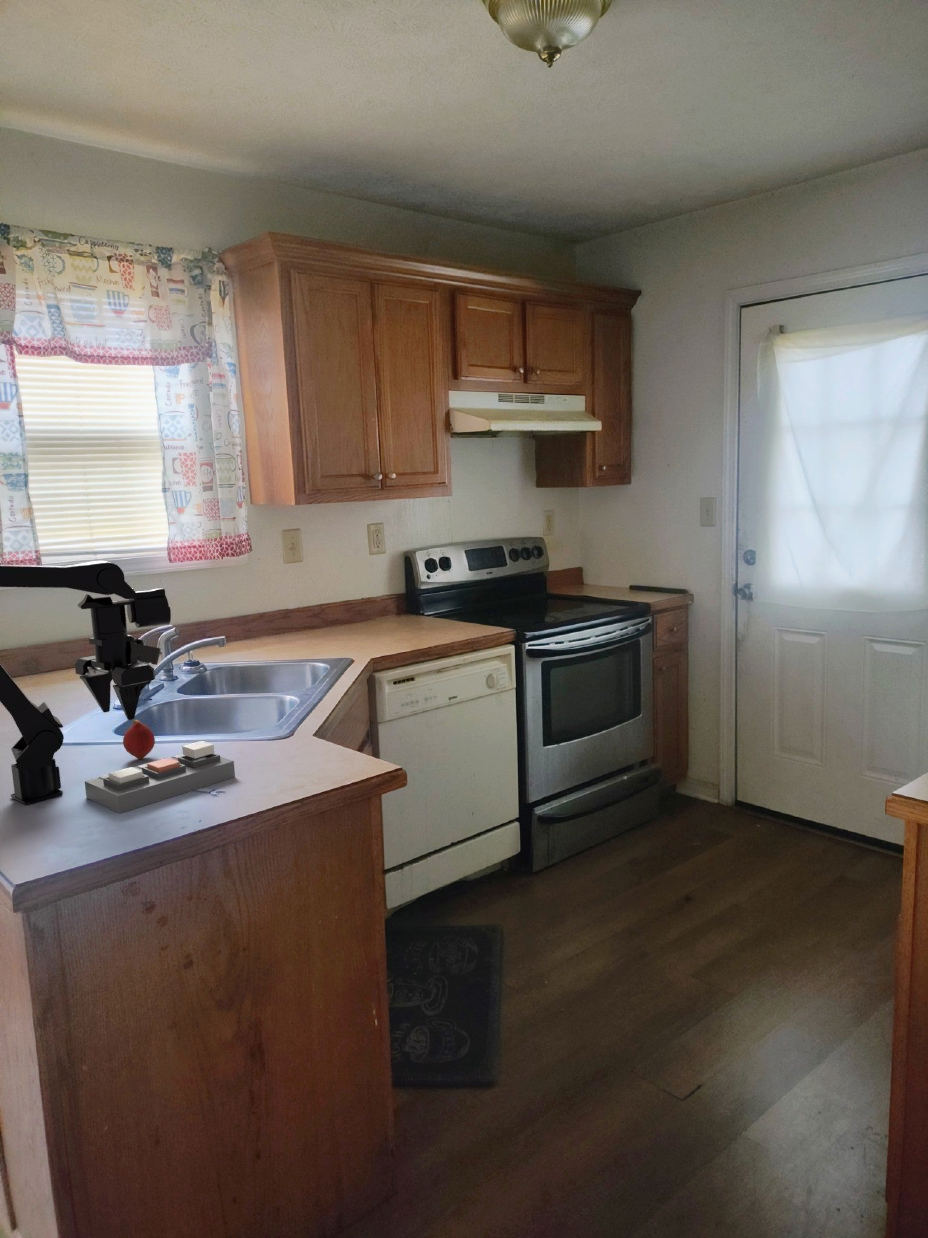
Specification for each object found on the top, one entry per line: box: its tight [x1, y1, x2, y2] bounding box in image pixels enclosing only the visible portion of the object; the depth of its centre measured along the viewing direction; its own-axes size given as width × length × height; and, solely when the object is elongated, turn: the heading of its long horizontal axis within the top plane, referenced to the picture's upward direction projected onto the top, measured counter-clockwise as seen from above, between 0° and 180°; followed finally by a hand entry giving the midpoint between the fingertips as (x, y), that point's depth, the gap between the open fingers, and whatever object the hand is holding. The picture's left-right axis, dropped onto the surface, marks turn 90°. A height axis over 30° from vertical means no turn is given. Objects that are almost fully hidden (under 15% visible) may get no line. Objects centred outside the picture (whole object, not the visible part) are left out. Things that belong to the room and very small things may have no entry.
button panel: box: [84, 752, 236, 814], centre depth 153 cm, size 22×12×4 cm, turn 138°
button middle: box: [146, 757, 180, 773], centre depth 152 cm, size 4×4×2 cm
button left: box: [108, 766, 143, 784], centre depth 147 cm, size 4×4×2 cm
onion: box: [122, 719, 156, 760], centre depth 169 cm, size 6×6×8 cm
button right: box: [181, 740, 215, 758], centre depth 157 cm, size 4×4×2 cm
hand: (118, 715), depth 156 cm, fingers open, 9 cm apart
